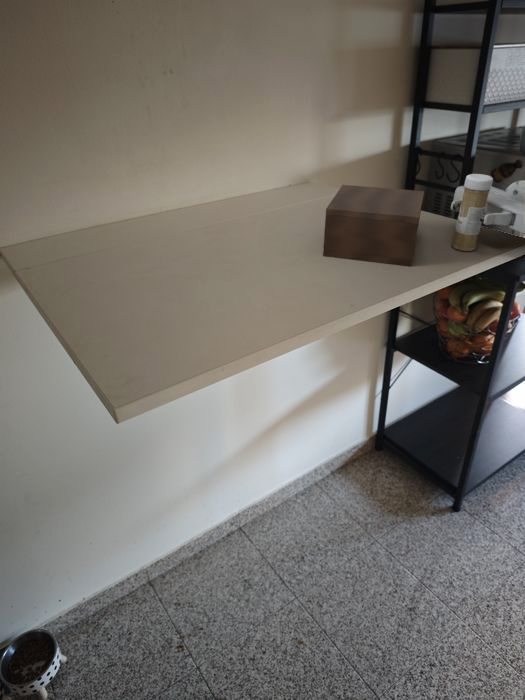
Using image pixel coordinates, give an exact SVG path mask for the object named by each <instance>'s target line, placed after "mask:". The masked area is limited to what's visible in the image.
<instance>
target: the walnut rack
mask: <svg viewBox="0 0 525 700" xmlns="http://www.w3.org/2000/svg"><path fill="white" fill-rule="evenodd" d="M424 195H425V191H424V190H415V189H414V190H413V189H400V188H389V187H388V188H387V187H378V186H377V187H375V186H362V185H353V184H351V185H350V184H342V185H341V186H340V188H339V190H338V191H337V192H336V194H335V195H334V197H333V198H332V199H331V201H330V202H329V203H328V206H327V207H326V208H325V221H324V235H323V249H322V250H323V251H322V257H329V258H337V259H338V258H339V259H344V260H345V259H346V260H353V261H363V262H371V263H379V264H389V265H397V266H403V267H411V266H412V262H413V257H414V252H415V245H416V241H417V236H418V230H419V224H420V219H421V213H422V207H423V201H424Z"/></svg>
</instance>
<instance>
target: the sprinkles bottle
mask: <svg viewBox="0 0 525 700" xmlns="http://www.w3.org/2000/svg"><path fill="white" fill-rule="evenodd" d="M493 183H494V178H493V177H492V176H491V175H488V174H483V173H471V174H468V175H466V177H465V180H464V184H463V186H465V187H464V188H465V189H464V194H463V198H462V203H461V206H460V210H459V211H458V216H457V220H456V223H455V228H454V234H453V237H452V238H453V239H452V242H451V247H452V248H453V249H454V250H456V251H460V252H472V251H474V250H476V248H477V241H478V238H479V234H480V231H481V227H482V224H483V223H481V222H480V219H481V214H482V213H484V212H485V208H486V202H487V198H488V194H489V191H490V189H491V186H492V187H493Z"/></svg>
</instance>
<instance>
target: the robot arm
mask: <svg viewBox="0 0 525 700" xmlns="http://www.w3.org/2000/svg"><path fill="white" fill-rule="evenodd" d="M519 152H520V154H521V155H522V156H523V157H524V158H525V125H524V126H523V127H522V130H521V133H520V136H519ZM464 187H465V186H464V185H460V186H459V185H458V186H457V187H456V189H455V191H454V195H453V201H451V204H450V210H451V211H453V212H456V213H459V210H460V206H461V203H462V198H463V194H464V189H465V188H464ZM480 222H481V223H482V224H483V225H485V226H488V225H495V226H497V225H498V226H504V227H506V228H508V229H510V230H513V231H516V232H518V233H520V234H522V235H525V179H523V180H517V181H514V182H512V183H510V185H509V186H508V185H507V188H506V189H505V190H504V189H500V188H497V187H495V186H493V185H492V186H491V189H490V191H489V194H488V198H487V202H486V208H485V212H484V213H482V214H481V219H480Z"/></svg>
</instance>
